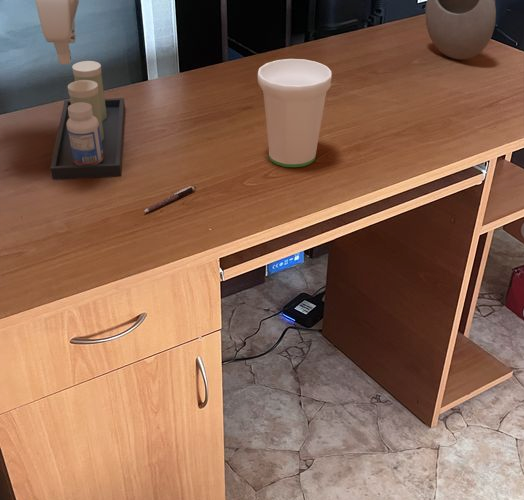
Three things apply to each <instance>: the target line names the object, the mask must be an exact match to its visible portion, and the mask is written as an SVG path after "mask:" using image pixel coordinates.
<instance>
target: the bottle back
mask: <svg viewBox="0 0 524 500" xmlns="http://www.w3.org/2000/svg"><path fill="white" fill-rule="evenodd" d="M71 69H72V74H73V77H74V78H73V79H74V82H75V81H79V80H91V81H94V82H96V83H97V84H98V95H99V103H100V110H101V118H102V121H103V120H105V119H106V118H107V113H106V106H105V99H106V97H105V91H104V83H103V75H102V71H103V70H102V65H101V63H100V62H97V61H94V60H84V61H78V62H76V63H74V64H73V65H72V66H71Z"/></svg>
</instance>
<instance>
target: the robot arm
mask: <svg viewBox="0 0 524 500" xmlns="http://www.w3.org/2000/svg"><path fill="white" fill-rule="evenodd" d="M34 1H35V6H36V10H37V15H38V18H39V24H40V27H41V31H42V34H43V37H44V39H45V41H46V42H47V43H53V45H54V48H55V52H56V54H57V60H58V63H59V64H60V65H70V64H71V62H72V61H71V60H72V56H71V49H70V44H74V43H75V41H76V39H77V38H76V37H77V36H76V31H75V27H76V26H75V25H76V24H75V23H76V22H75V20H76V16H77V12H78V7H79V3H80V0H34Z"/></svg>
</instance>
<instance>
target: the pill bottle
mask: <svg viewBox="0 0 524 500" xmlns="http://www.w3.org/2000/svg"><path fill="white" fill-rule="evenodd" d="M68 115H69V117H70V118H69V119H68V121H67V131H68V137H69V142H70V148H71V153H72V159H73V162H74V163H75V164H77V165H91V164H99V163H100V162H102V160H103V158H104V156H103V149H102V142H101V135H100V129H99V123H98V120H97V118H96V117H95V116H93V111H92V106H91V105H90V104H89V103H84V102H79V103H74V104H71V105H70V106H69V107H68Z"/></svg>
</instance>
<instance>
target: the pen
mask: <svg viewBox="0 0 524 500" xmlns="http://www.w3.org/2000/svg"><path fill="white" fill-rule="evenodd" d="M195 189H197V188H196V186H193V185H190V186H187V187H185V188H183V189H181V190H179V191H177V192H175V193H173V194H172V195H171V196H168V197H167V198H165V199H163V200H161V201H159V202H156V203H155V204H153V205H151V206H149V207H146V208H145V210H144V211H143V212H142V213H144V214H146V213H150V212H152V211H154V210H157V209H159V208H161V207H163V206H165V205H168V204H170V203H171V202H173V201H176V200H178V199H180V198H182V197H184V196H185V195H188V194H190V193H191V192H193V191H194V190H195Z"/></svg>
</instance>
